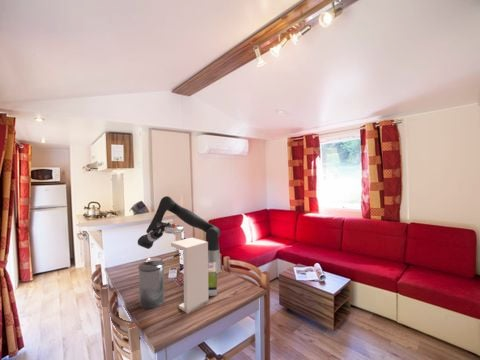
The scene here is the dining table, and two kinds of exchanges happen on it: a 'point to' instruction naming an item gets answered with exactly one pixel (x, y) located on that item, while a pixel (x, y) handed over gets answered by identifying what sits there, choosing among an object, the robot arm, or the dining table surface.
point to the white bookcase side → (194, 272)
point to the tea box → (212, 279)
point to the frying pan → (159, 258)
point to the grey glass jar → (151, 284)
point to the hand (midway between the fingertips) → (166, 224)
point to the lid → (171, 228)
